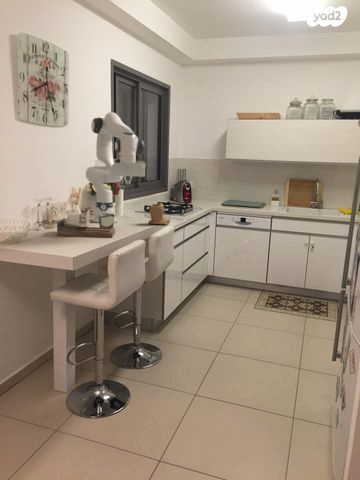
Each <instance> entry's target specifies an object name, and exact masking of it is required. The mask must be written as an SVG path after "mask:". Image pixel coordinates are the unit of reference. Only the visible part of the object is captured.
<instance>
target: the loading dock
mask: <svg viewBox="0 0 360 480" xmlns="http://www.w3.org/2000/svg"><path fill="white" fill-rule="evenodd" d="M66 222H67V219H66V218H61V219H60V220H59V221H57V222H56V228H57V230H56V235H57V237H73V238H74V237H75V238H76V237H77V238H80V237H81V238H106V239H107V238H109V239H110V238H112V239H113V237H114V235H116V228H115V227H113V228H100V227H94V226H93V227H91V226H90V227H89V226H88V227H86V229H83V227H78V226H65V225H64V223H66Z"/></svg>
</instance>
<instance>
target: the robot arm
mask: <svg viewBox="0 0 360 480" xmlns="http://www.w3.org/2000/svg"><path fill="white" fill-rule="evenodd" d="M91 130H92V132H93V133H94V134H96V135H97V136H96V145H95V147H96V149H95V150H96V153H95V154H96V155H95V156H96V158H97V160H98V161H99V162H101V163H104V165H105V166H96V165H95V166H90V167H88V168H87V169H86V171H85V177H86V180H87V181H89V182H90V183H91V184H92V185H93V187H94V190H95V192H96V193H95V194H96V202H95V208H94V210H93V218H92V219H91V221H90V222H95V223H99V218H98V215H99V214H105V213H109V214H114V215H115V217H114V223H118V219H117V217H116V210H115V209H114V208H113V207H114V202H113V191H112V189H111V188H110V187H107V186H105V185H104V183H109V184H110V183H112V184H113V183H118V182H121V181H122V180H123V179H124V181H125V183H124V184H125V185H131V180H133V177H141V178H143V177H145V176H146V171H145V169H146V166H147V164H146V162H145V161H144V160H137V159H136V157H137V156H138V157H140V156H141V155H143V154H144V153H145V151H146V143H145V142H144V140H143V139H142V138H140V137H139V136H138V134H136V132H135V131H134V130H133V128H131V127H130V126H128V125H126V124H125V123H124V122H123V121H122V119H121V117H120V116H119V115H118V114H117V113H116V112H112V111H111V112H107V113H106V114H105V116H104V118H103V117H95V118H93V119H92V121H91ZM113 137H114V138H117V139H116V140H114V141H115V142H114V151H115V152H116V154H118V155H120V157H118V158H114V156H113ZM127 177H129V180H127Z"/></svg>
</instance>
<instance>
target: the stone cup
mask: <svg viewBox="0 0 360 480" xmlns="http://www.w3.org/2000/svg"><path fill="white" fill-rule="evenodd" d="M148 209H149V215H150V218H151V219H150V220H149V221H148V222H147V223H148V224H151V225H165V226H166V225H169V224H170V223H171V219H165V218H164V213H165V205H164V204H163V203H161V202H159V203H151V204H150V205H149V206H148Z"/></svg>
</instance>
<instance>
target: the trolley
mask: <svg viewBox="0 0 360 480" xmlns="http://www.w3.org/2000/svg"><path fill="white" fill-rule="evenodd" d="M90 210H91V209H90V207H87V208H86V209H84V220H83V213H81V212H79V213H78V212H69V213H68V214H67V215H66V216H67V217H66V218H67V219H66V223H64V225H65V226H78V227H83V229H86V227H89V225H91V221H90V219H91V218H90V217H91V216H90Z"/></svg>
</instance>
